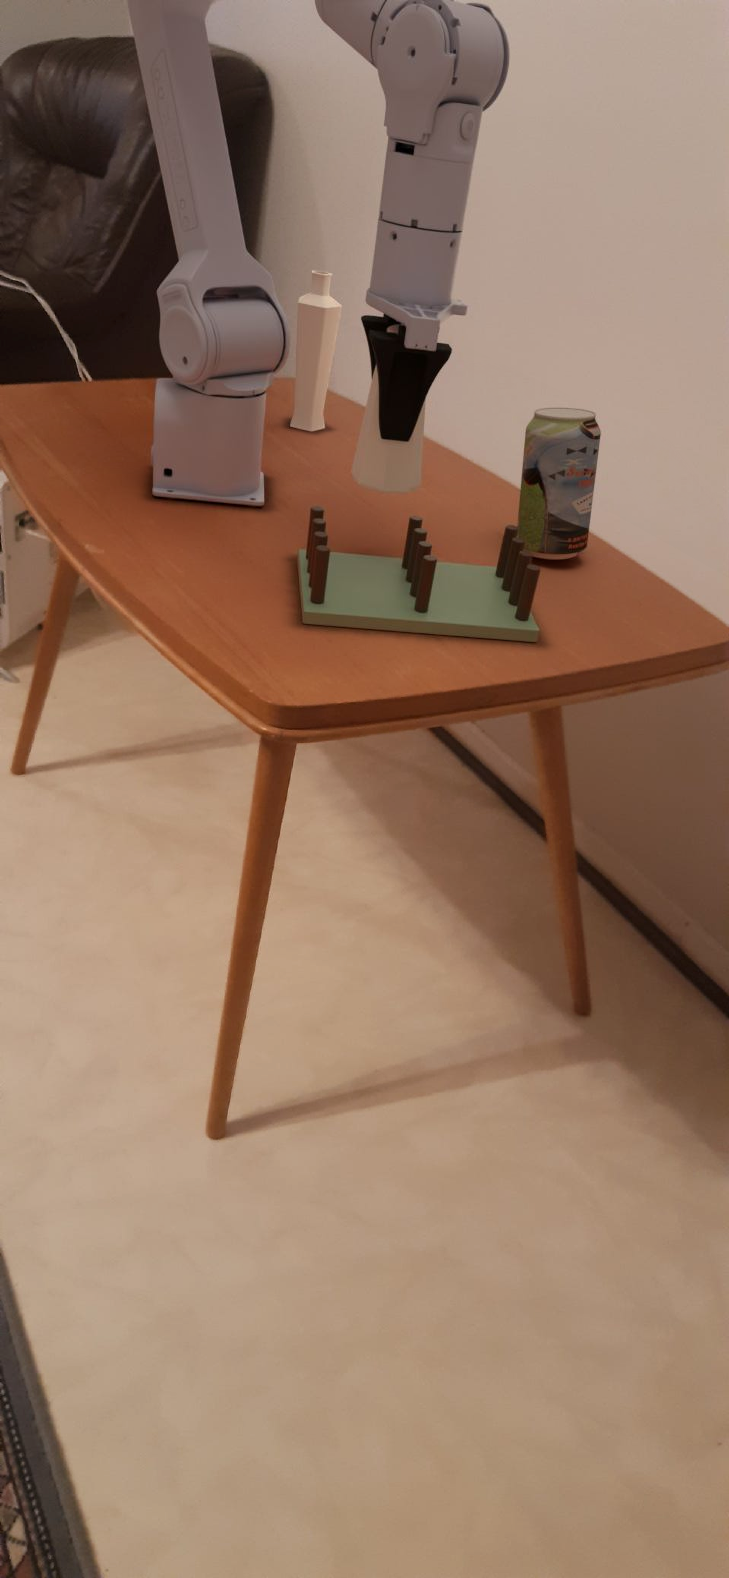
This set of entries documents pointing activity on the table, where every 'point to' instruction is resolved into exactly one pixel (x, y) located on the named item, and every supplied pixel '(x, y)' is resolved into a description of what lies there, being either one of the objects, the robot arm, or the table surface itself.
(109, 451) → the table surface
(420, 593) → the rack
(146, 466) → the table surface
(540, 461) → the beverage can
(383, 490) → the salt shaker
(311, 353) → the perfume bottle
